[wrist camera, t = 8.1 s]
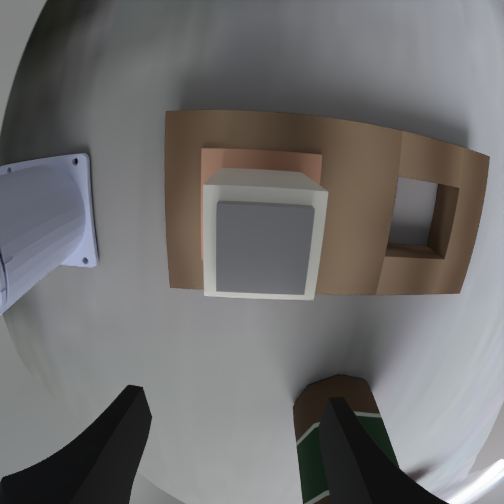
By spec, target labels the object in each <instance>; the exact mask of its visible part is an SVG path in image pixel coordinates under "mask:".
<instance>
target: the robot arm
mask: <svg viewBox="0 0 504 504" xmlns="http://www.w3.org/2000/svg"><path fill="white" fill-rule="evenodd" d="M76 158H77V159H78V164H76V163H75V159H76ZM10 169H11V171H10ZM85 258H87V259H88V262H87V261H86V260H85ZM98 262H99V258H98V251H97V244H96V237H95V228H94V219H93V209H92V197H91V181H90V159H89V156H88V155H87V154H86V153H79V154H70V155H63V156H55V157H48V158H42V159H35V160H29V161H24V162H18V163H13V164H8V165H3V166H1V167H0V315H1V314H3V313H4V312H5V311H6V310H7V309H8V308H9V307H10V306H11V305H12V304H14V303H15V302H16V301H17V300H18V299H19V298H20V297H21V296H22V295H24V294H25V293H26V292H27V291H28V290H29V289H30V288H32V287H33V286H34V285H35V284H36V283H37V282H39V281H40V280H41V279H42V278H43V277H45V276H46V275H47V274H48V273H49V272H51V271H52V270H53V269H54V268H56V267H57V266H58V265H70V266H81V267H95V266H96V265H97V264H98ZM151 420H152V415H151V412H150V409H149V406H148V403H147V400H146V396H145V393H144V390H143V387H139V386H134V385H128V386H126V388H125V389H124V390H123V391H122V392H121V393H120V394H119V395H118V397H117V398H116V399H115V400H114V401H113V402H112V403H111V404H110V405H109V407H108V408H107V409H106V410H105V411H104V412H103V413H102V414H101V415H100V416H99V417H98V418H97V419H96V420H95V421H94V422H93V423H92V424H91V425H90V426H89V427H88V428H86V429H85V430H84V431H83V432H82V433H81V434H80V435H79V436H78V437H76V438H75V439H74V440H73V441H71V442H70V443H69V444H68V445H66V446H65V447H63V448H62V449H61V450H59V451H58V452H56V453H54V454H53V455H51V456H50V457H49V458H47V459H45V460H43V461H41V462H39V463H37V464H35V465H33V466H31V467H29V468H27V469H24V470H22V471H19V472H16V473H14V474H11V475H8V476H5V477H3V478H2V480H1V482H0V504H129V500H130V495H131V489H132V485H133V481H134V478H135V475H136V472H137V469H138V466H139V463H140V460H141V457H142V454H143V451H144V448H145V445H146V442H147V439H148V435H149V430H150V425H151ZM318 428H319V441H320V450H321V455H322V460H323V465H324V470H325V474H326V479H327V484H328V489H329V495H330V503H331V504H449V503H447V502H445V501H443V500H441V499H439V498H438V497H436V496H435V495H433V494H431V493H430V492H428V491H427V490H425V489H424V488H423V487H421V486H420V485H419V484H417V483H416V482H415V481H413V480H412V479H411V478H410V477H409V476H407V475H406V474H405V473H404V472H403V471H402V470H401V469H400V468H399V467H398V466H397V465H395V464H394V462H393V461H392V460H391V459H390V458H389V457H388V456H387V455H386V454H385V453H384V452H383V450H382V449H381V448H380V447H379V446H378V444H377V443H376V442H375V441H374V439H373V438H372V437H371V435H370V434H369V433H368V431H367V430H366V429H365V427H364V426H363V425H362V423H361V422H360V420H359V419H358V417H357V416H356V414H355V413H354V411H353V410H352V408H351V407H350V405H349V404H348V402H347V400H346V399H345V398H344V397H333V398H328V401H327V404H326V407H325V410H324V413H323V415H322V418H321V421H320V424H319V426H318Z"/></svg>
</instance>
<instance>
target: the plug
mask: <svg viewBox="0 0 504 504" xmlns="http://www.w3.org/2000/svg"><path fill="white" fill-rule="evenodd" d="M327 200H328V191H327V190H326V189H324V188H323V187H322V186H320V185H319V184H317V183H316V182H315V181H313V180H312V179H311V178H309V177H308V176H306V175H305V174H304V173H302V172H294V171H279V170H263V169H242V168H221V169H219V170H218V171H217V172H216V173H215V174H214V175H213V176H212V177H211V178H210V179H209V180H208V181H207V182H205V183H204V184H203V270H204V296H216V297H235V298H257V299H285V300H314V295H315V289H316V282H317V276H318V269H319V263H320V256H321V249H322V241H323V234H324V226H325V218H326V209H327Z"/></svg>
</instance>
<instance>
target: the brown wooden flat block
mask: <svg viewBox="0 0 504 504" xmlns="http://www.w3.org/2000/svg"><path fill="white" fill-rule="evenodd" d="M489 160H490V156H487V155H484V154H481V153H478V152H475V151H473V150H470V149H466V148H463V147H460V146H457V145H454V144H450V143H447V142H444V141H440V140H437V139H433V138H429V137H426V136H422V135H418V134H414V133H410V132H405V131H401V130H396V129H392V128H387V127H382V126H377V125H372V124H366V123H361V122H355V121H349V120H342V119H335V118H328V117H320V116H312V115H303V114H293V113H281V112H266V111H246V110H182V111H166V119H165V213H166V237H167V254H168V269H169V281H170V288H183V289H199V290H204V270H203V184H204V183H205V182H207V181H208V180H209V179H210V178H211V177H212V176H213V175H214V174H215V173H216V172H217V171H218V170H219V169H221V168H242V169H263V170H279V171H294V172H302V173H304V174H305V175H306V176H308V177H309V178H311V179H312V180H313V181H315V182H316V183H317V184H319V185H320V186H322V187H323V188H324V189H326V190H327V191H328V200H327V209H326V218H325V226H324V234H323V241H322V249H321V256H320V263H319V269H318V276H317V282H316V289H315V294H325V295H423V294H459V293H460V291H461V288H462V285H463V282H464V279H465V276H466V273H467V269H468V266H469V263H470V259H471V255H472V252H473V248H474V244H475V240H476V236H477V232H478V227H479V223H480V218H481V213H482V208H483V203H484V197H485V191H486V184H487V177H488V169H489ZM398 176H400V177H406V178H411V179H417V180H422V181H428V182H433V183H438V191H437V197H436V203H435V209H434V214H433V220H432V225H431V230H430V234H429V239H428V243H427V246H420V245H406V244H391V243H388V238H389V233H390V227H391V222H392V216H393V210H394V203H395V197H396V190H397V182H398Z"/></svg>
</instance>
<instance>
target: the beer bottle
mask: <svg viewBox="0 0 504 504" xmlns="http://www.w3.org/2000/svg"><path fill="white" fill-rule="evenodd" d="M333 397H344V398H345V399H346V400H347V402H348V404H349V405H350V407H351V408H352V410H353V411H354V413H355V414H356V416H357V417H358V419H359V420H360V422H361V423H362V425H363V426H364V427H365V429H366V430H367V431H368V433H369V434H370V435H371V437H372V438H373V439H374V441H375V442H376V443H377V444H378V446H379V447H380V448H381V449H382V450H383V452H384V453H385V454H386V455H387V456H388V457H389V458H390V459H391V460H392V461H393V462H394V464H395V465H397V466H398V467H399V465H398V462H397V459H396V456H395V453H394V451H393V448H392V445H391V442H390V439H389V436H388V434H387V431H386V428H385V425H384V423H383V420H382V417H381V415H380V412H379V409H378V407H377V404H376V402H375V399H374V396H373V394H372V392H371V390H370V388H369V386H368V384H367V382H366V380H364V379H360V378H355V377H350V376H345V375H340V374H338V375H335V376H333V377H330V378H327V379H325V380H322V381H319V382H316V383H313V384H310V385H308V387H307V388H306V389H305V391H304V392H303V393H302V395H301V396H300V397H299V398H298V400H297V401H296V402H295V404H294V406H293V416H294V428H295V436H296V445H297V453H298V462H299V471H300V480H301V489H302V499H303V504H331V503H330V495H329V489H328V484H327V479H326V474H325V470H324V465H323V460H322V455H321V450H320V441H319V428H318V426H319V424H320V421H321V418H322V415H323V413H324V410H325V407H326V404H327V401H328V398H333Z"/></svg>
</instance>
